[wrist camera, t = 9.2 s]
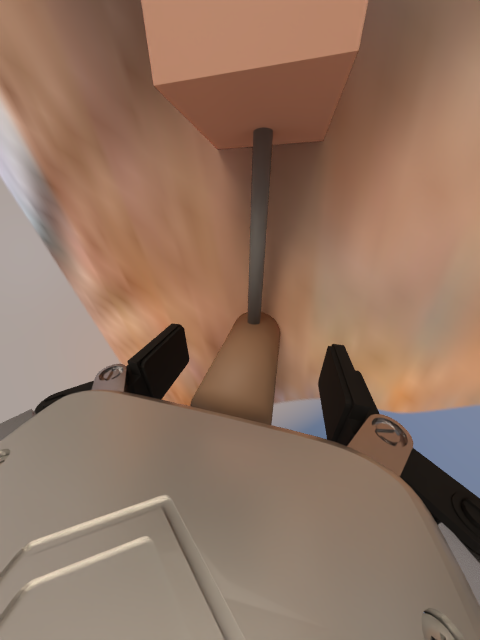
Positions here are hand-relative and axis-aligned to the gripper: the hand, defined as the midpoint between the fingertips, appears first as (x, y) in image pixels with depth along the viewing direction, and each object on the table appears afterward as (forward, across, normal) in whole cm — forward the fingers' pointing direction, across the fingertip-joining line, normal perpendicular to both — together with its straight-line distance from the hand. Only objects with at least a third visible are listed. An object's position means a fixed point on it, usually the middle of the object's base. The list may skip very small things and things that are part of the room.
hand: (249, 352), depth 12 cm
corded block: (+2, 0, -7) cm, 7 cm away
